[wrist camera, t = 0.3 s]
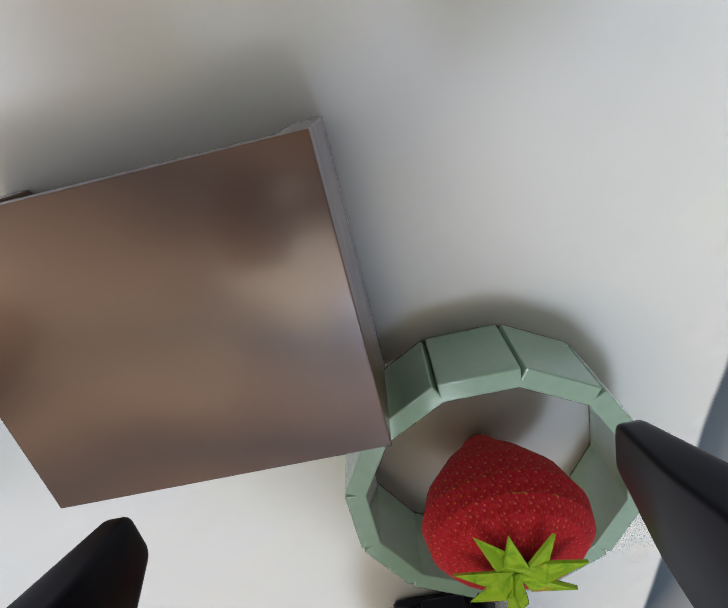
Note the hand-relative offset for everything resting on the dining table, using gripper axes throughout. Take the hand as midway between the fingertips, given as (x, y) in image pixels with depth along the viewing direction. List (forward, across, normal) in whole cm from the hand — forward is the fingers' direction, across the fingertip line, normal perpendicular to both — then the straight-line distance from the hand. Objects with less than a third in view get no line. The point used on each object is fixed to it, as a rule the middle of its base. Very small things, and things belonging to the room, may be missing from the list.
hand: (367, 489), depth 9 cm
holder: (+14, -4, +12) cm, 19 cm away
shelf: (+14, +7, 0) cm, 16 cm away
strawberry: (+14, -4, +12) cm, 19 cm away
